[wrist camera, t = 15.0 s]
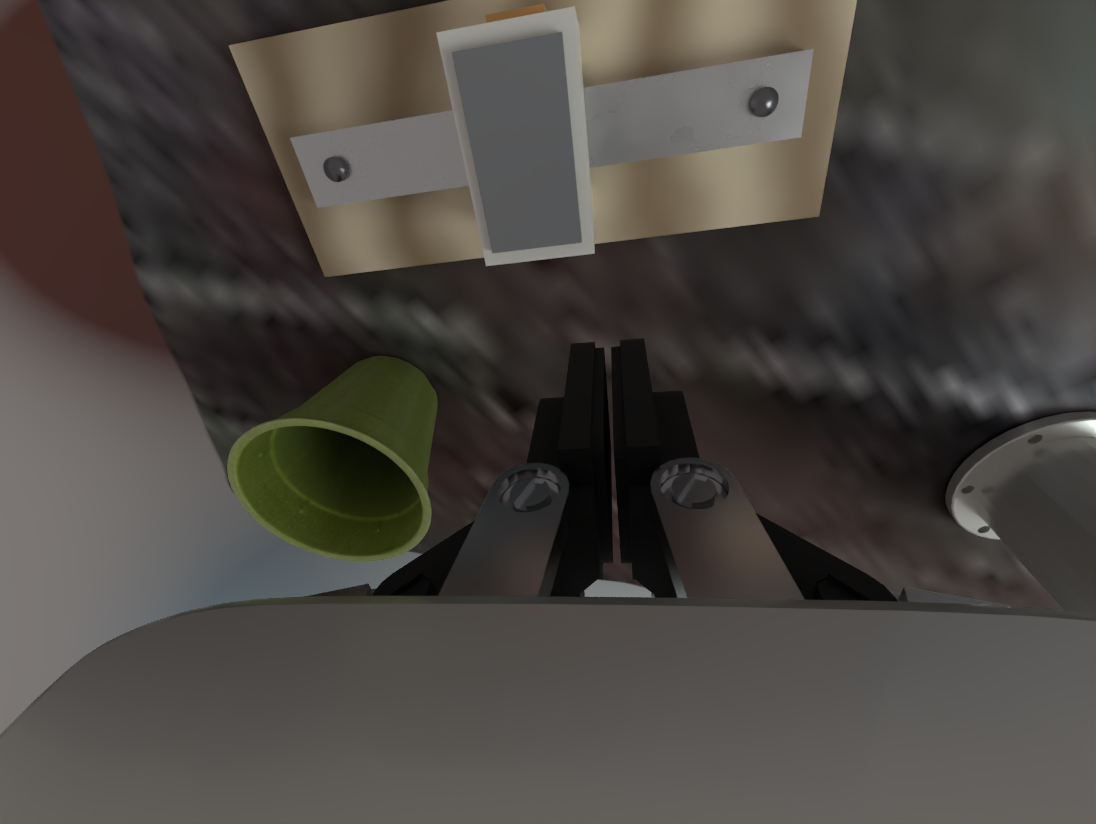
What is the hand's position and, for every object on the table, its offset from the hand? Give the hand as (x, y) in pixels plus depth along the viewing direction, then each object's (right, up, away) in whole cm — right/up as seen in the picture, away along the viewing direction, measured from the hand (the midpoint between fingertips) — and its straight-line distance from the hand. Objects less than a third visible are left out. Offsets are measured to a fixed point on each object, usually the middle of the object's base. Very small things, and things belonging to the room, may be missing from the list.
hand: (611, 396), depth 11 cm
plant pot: (-13, +1, +26) cm, 29 cm away
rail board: (-2, +15, +15) cm, 21 cm away
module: (-2, +14, +14) cm, 20 cm away
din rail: (-2, +15, +15) cm, 21 cm away
